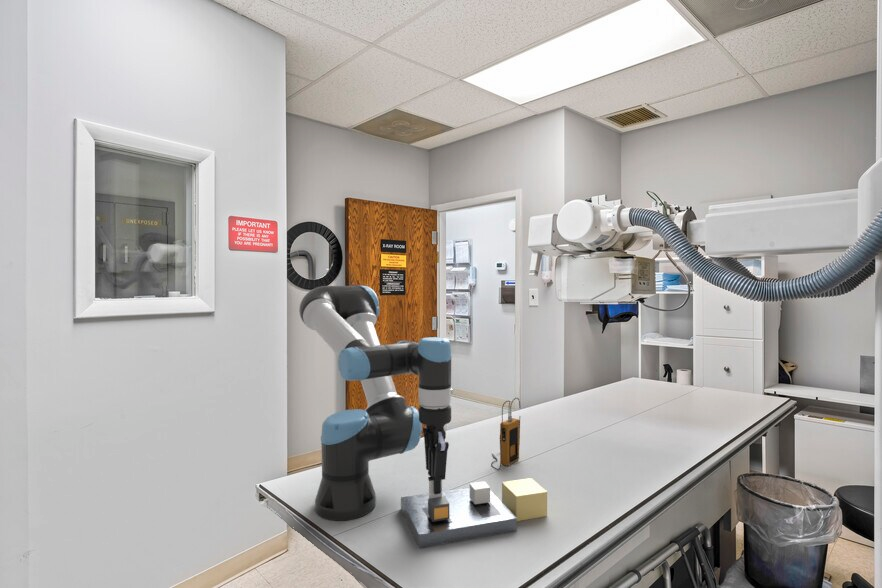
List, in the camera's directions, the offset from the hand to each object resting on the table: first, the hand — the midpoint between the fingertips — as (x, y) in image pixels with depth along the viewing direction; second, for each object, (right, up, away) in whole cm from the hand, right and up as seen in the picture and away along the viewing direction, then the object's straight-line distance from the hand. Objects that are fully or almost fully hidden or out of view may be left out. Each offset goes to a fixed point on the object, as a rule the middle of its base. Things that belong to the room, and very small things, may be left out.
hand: (435, 504), depth 110 cm
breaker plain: (+11, -1, +6) cm, 12 cm away
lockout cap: (+22, -5, +7) cm, 24 cm away
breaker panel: (+5, -5, +3) cm, 7 cm away
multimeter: (+20, -4, +40) cm, 45 cm away
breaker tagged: (+1, -2, -2) cm, 3 cm away
